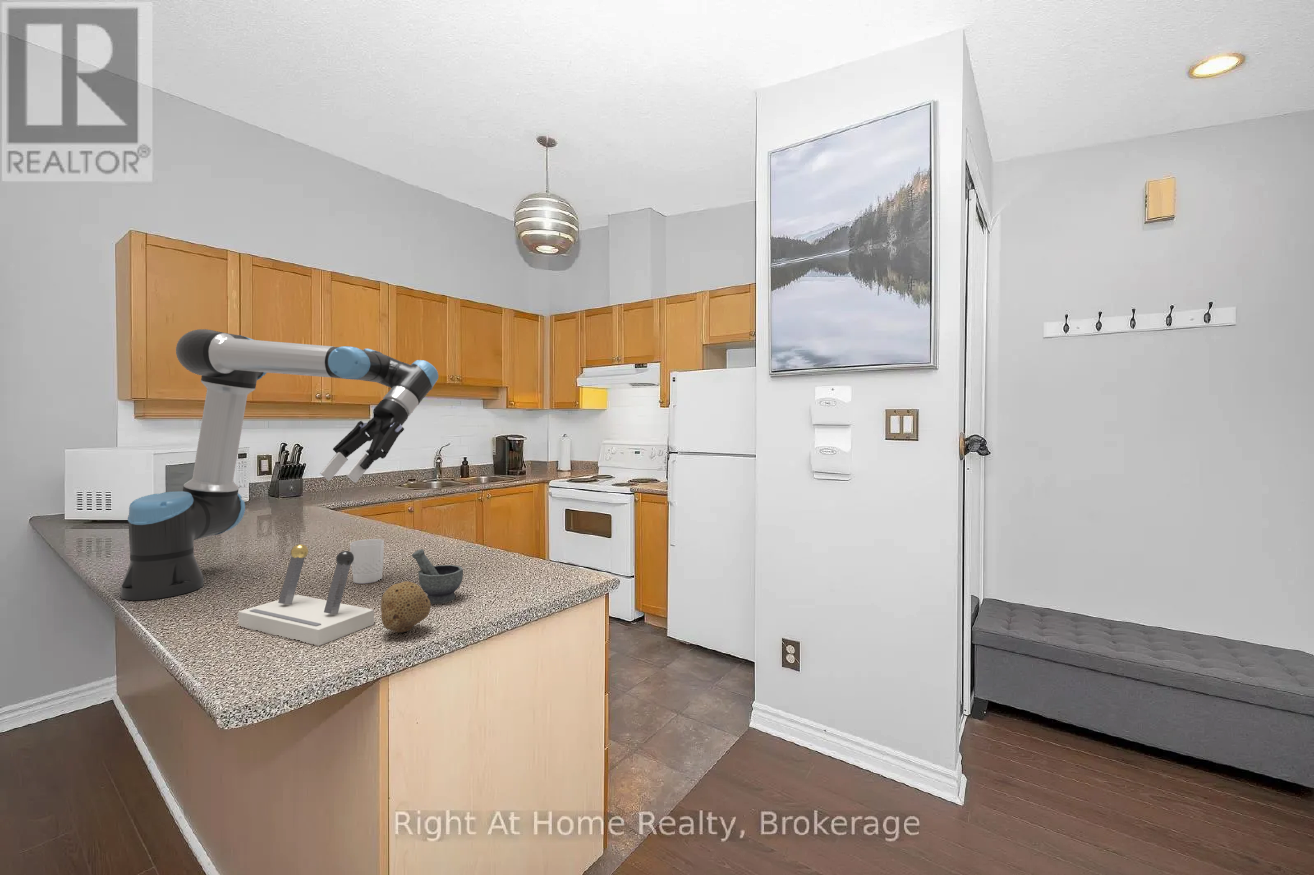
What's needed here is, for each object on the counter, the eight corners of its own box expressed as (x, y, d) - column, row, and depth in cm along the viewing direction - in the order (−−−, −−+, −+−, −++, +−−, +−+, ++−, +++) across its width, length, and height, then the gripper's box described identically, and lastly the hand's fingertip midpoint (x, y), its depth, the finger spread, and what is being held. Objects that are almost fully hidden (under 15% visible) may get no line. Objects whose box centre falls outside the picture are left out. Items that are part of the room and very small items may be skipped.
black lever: (332, 612, 114) (348, 550, 117) (343, 614, 112) (359, 552, 116) (318, 611, 111) (334, 549, 114) (329, 614, 110) (345, 550, 113)
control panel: (296, 607, 125) (296, 593, 125) (374, 624, 115) (373, 608, 115) (238, 626, 114) (238, 610, 114) (318, 646, 104) (318, 628, 104)
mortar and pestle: (465, 592, 137) (465, 543, 136) (460, 604, 128) (459, 552, 127) (416, 594, 135) (416, 545, 134) (407, 607, 125) (407, 554, 125)
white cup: (390, 576, 150) (390, 539, 149) (372, 585, 142) (372, 546, 142) (362, 575, 151) (362, 538, 150) (343, 584, 143) (343, 545, 142)
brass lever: (287, 602, 119) (303, 544, 122) (297, 604, 118) (313, 545, 121) (272, 602, 116) (289, 542, 120) (282, 604, 115) (299, 544, 118)
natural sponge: (435, 622, 116) (434, 575, 116) (424, 639, 108) (424, 588, 107) (388, 625, 115) (388, 576, 115) (373, 642, 106) (373, 590, 106)
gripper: (434, 419, 140) (380, 490, 126) (375, 418, 149) (318, 485, 134) (417, 397, 135) (359, 469, 121) (357, 397, 144) (296, 465, 129)
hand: (337, 477), depth 128 cm, fingers open, 8 cm apart
